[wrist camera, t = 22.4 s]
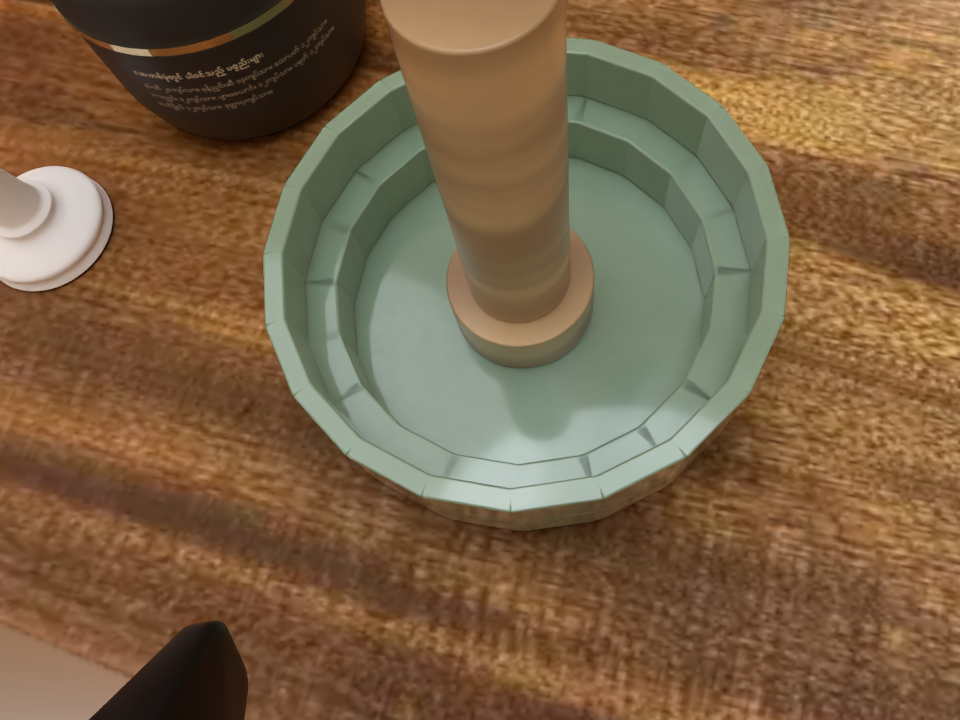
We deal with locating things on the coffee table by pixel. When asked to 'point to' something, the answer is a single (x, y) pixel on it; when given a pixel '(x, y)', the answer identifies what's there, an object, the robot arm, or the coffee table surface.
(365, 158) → the bowl
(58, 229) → the chess piece
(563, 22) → the muddler
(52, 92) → the coffee table surface
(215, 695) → the robot arm
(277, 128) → the jar
